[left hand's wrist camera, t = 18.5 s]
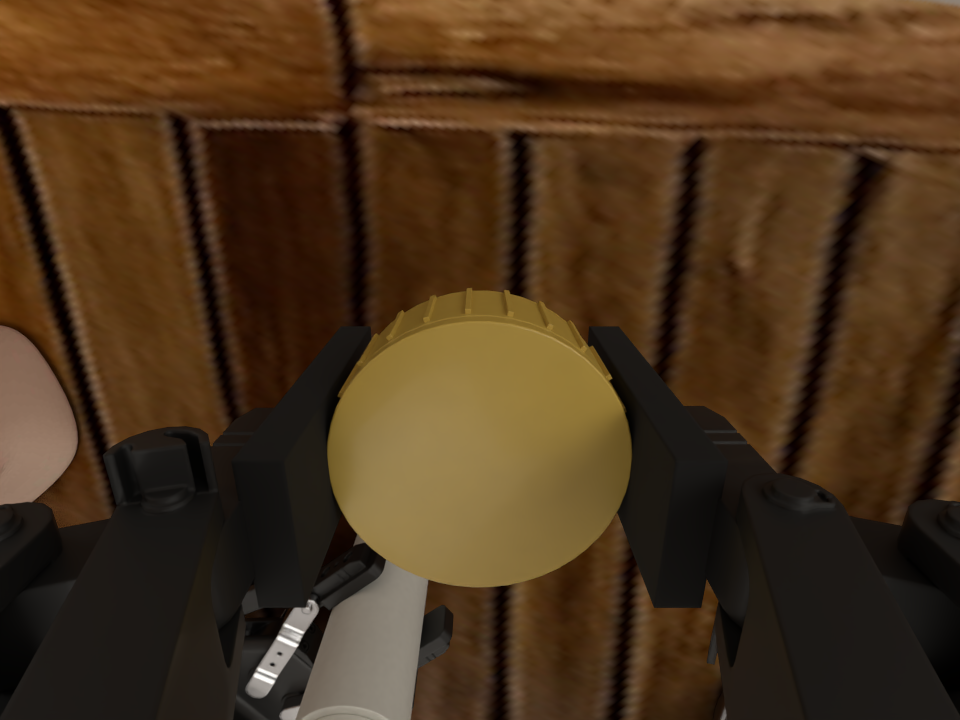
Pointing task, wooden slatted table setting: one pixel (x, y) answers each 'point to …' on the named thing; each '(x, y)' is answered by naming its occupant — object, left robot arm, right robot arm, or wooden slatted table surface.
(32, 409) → the anatomical model
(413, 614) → the bottle
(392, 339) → the lid
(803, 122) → the wooden slatted table surface
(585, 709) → the wooden slatted table surface
